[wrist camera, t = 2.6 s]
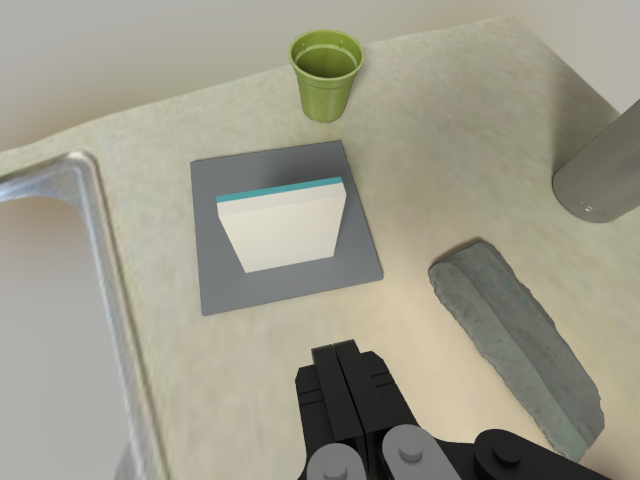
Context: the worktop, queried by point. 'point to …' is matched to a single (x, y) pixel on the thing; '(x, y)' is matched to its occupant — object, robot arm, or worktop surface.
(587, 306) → the worktop surface
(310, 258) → the glazed tile
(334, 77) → the plant pot
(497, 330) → the stone slab
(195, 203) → the rubber mat
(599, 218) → the robot arm
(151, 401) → the worktop surface
